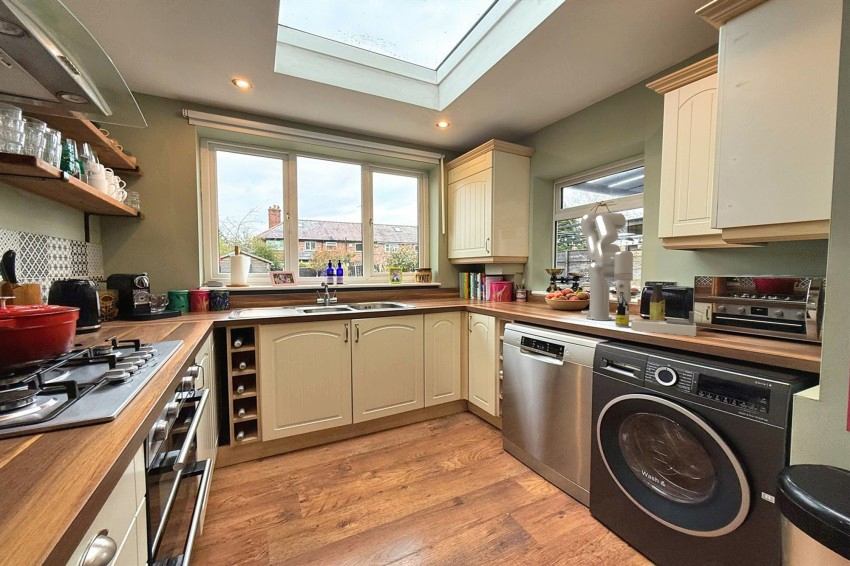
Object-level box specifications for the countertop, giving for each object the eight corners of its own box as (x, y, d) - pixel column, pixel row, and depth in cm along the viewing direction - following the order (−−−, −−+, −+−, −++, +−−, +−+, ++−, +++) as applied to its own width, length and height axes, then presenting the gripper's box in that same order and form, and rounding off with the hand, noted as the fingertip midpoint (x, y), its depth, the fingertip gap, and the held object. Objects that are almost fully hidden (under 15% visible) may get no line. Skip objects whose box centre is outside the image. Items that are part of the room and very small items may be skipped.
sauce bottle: (664, 324, 167) (665, 284, 166) (648, 323, 171) (649, 283, 170) (664, 323, 172) (665, 284, 172) (649, 322, 176) (650, 283, 175)
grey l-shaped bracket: (665, 322, 142) (666, 311, 142) (667, 320, 148) (667, 309, 148) (693, 324, 137) (693, 313, 136) (693, 322, 143) (693, 311, 143)
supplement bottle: (612, 326, 161) (613, 305, 161) (620, 325, 163) (621, 305, 163) (623, 327, 156) (624, 306, 156) (631, 327, 158) (632, 306, 158)
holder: (631, 330, 148) (631, 321, 148) (634, 327, 158) (635, 318, 157) (695, 336, 135) (696, 326, 134) (695, 332, 144) (695, 323, 144)
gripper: (630, 277, 150) (629, 316, 150) (635, 278, 164) (634, 313, 164) (611, 277, 155) (610, 315, 155) (617, 278, 168) (616, 312, 168)
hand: (622, 314), depth 159 cm, fingers open, 9 cm apart
